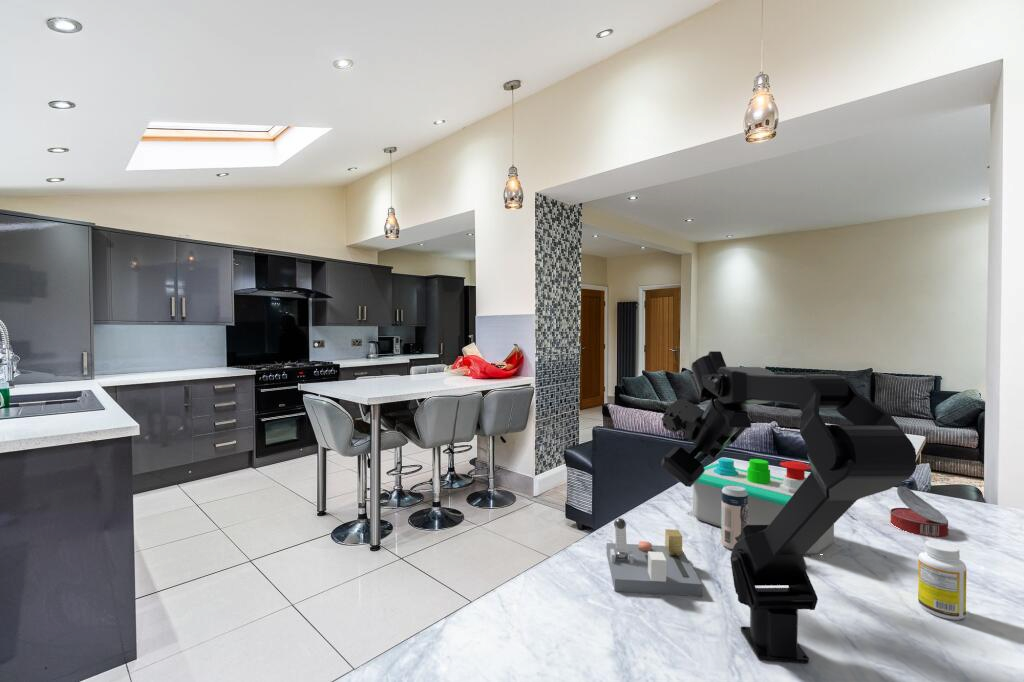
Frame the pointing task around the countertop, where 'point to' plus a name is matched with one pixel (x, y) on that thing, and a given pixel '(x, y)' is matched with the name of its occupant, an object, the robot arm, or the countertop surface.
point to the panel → (637, 579)
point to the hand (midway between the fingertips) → (692, 466)
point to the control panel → (755, 496)
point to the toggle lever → (620, 538)
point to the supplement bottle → (942, 581)
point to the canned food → (918, 516)
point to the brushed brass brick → (673, 542)
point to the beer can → (733, 514)
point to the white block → (657, 566)
